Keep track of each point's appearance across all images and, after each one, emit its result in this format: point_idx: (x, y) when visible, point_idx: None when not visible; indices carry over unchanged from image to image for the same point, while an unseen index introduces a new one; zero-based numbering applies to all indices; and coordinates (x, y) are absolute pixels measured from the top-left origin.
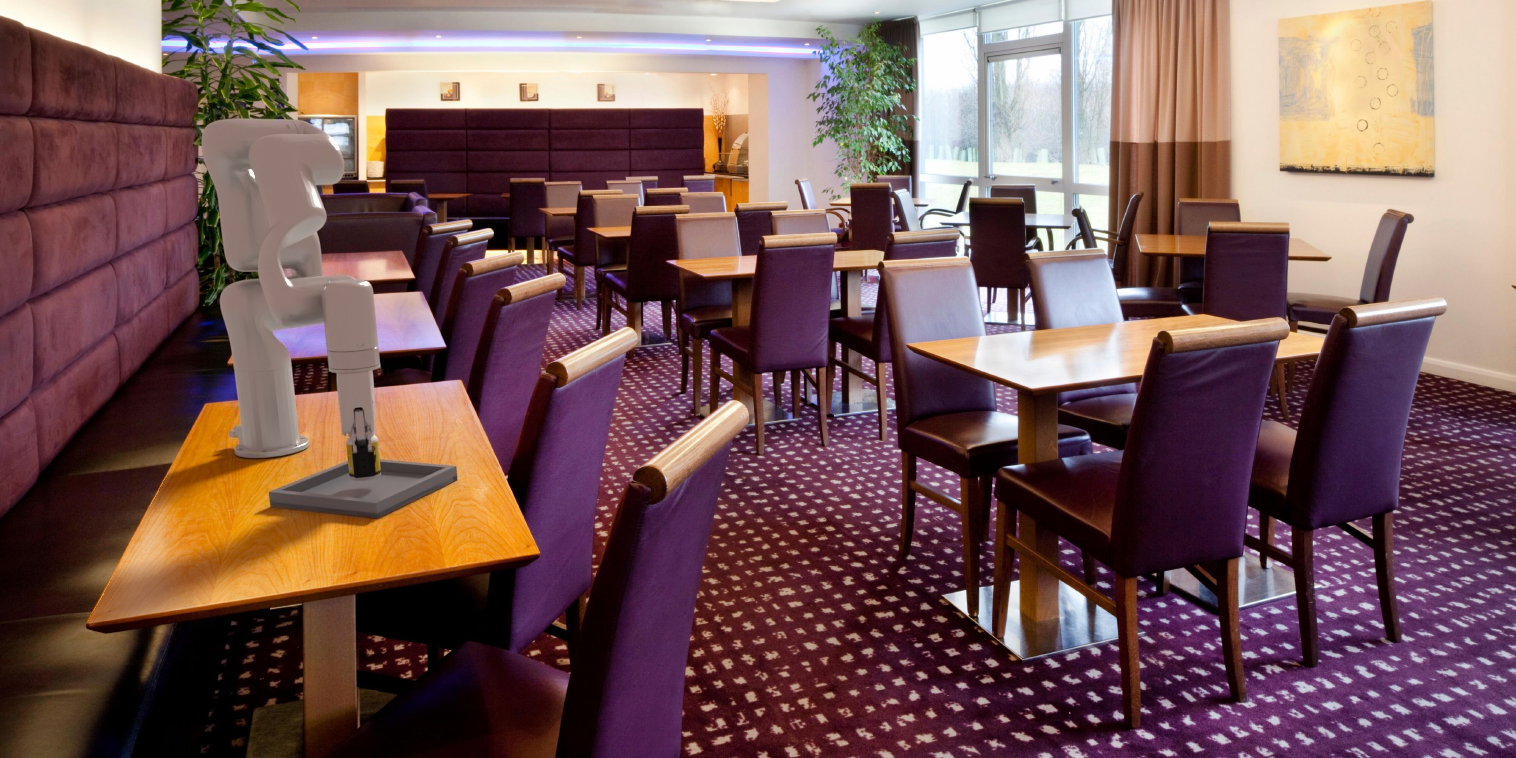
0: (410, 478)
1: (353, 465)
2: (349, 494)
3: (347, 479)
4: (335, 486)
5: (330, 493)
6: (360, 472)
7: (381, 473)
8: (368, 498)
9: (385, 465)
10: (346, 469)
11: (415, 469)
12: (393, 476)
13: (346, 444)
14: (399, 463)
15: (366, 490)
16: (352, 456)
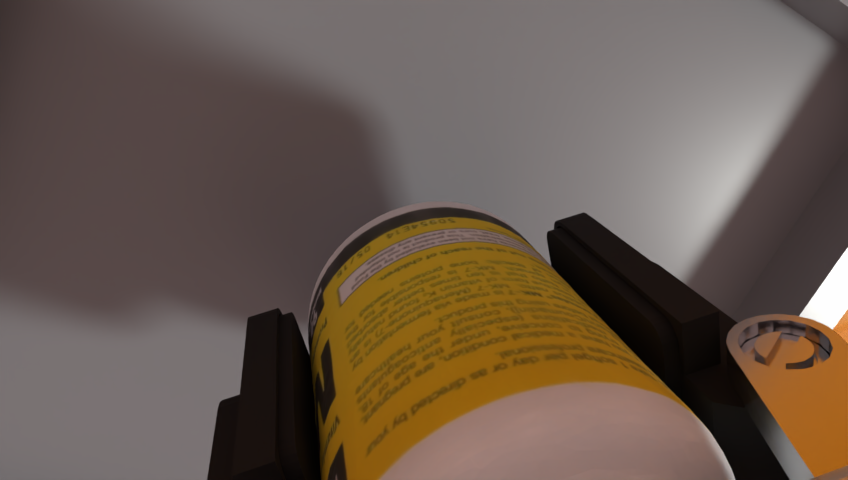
0: None
1: (245, 380)
2: (260, 201)
3: (655, 72)
4: (494, 26)
5: (305, 39)
6: (226, 400)
7: (716, 266)
8: (148, 361)
9: (787, 294)
10: (836, 24)
11: None
12: None
13: (466, 398)
14: None
15: None
16: (238, 449)
